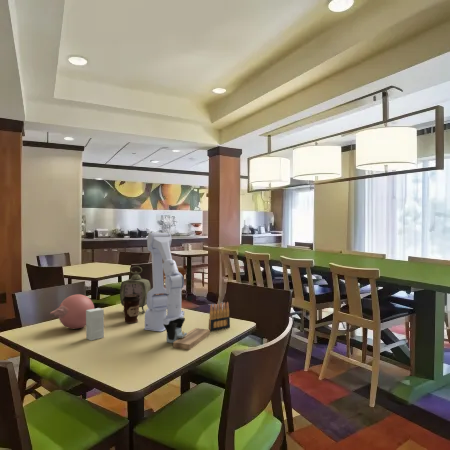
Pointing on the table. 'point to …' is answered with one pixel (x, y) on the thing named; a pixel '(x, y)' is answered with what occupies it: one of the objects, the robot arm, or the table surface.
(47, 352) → the table surface
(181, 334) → the grey stepped block
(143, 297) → the tabletop clock
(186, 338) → the board
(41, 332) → the table surface
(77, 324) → the balloon
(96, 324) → the skincare box
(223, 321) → the ammunition clip
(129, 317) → the coffee cup
